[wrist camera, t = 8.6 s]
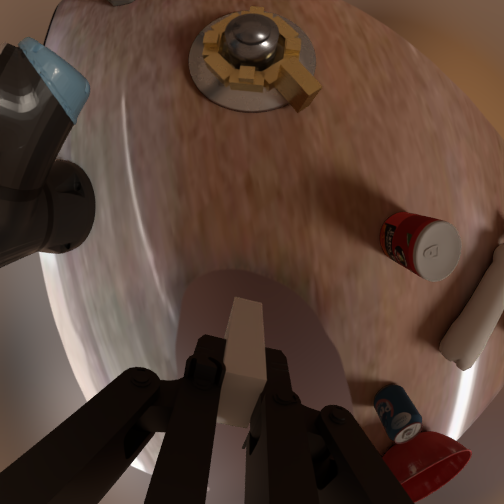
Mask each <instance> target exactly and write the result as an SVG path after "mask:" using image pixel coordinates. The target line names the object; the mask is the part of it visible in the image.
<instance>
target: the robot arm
mask: <svg viewBox="0 0 504 504" xmlns="http://www.w3.org/2000/svg"><path fill="white" fill-rule="evenodd" d="M89 94H90V85H89V82H88V81H87V79H86V78H85V77H84V76H83V75H82V74H81V73H79V72H78V71H77V70H76V69H75V68H74V67H72V66H71V65H70V64H69V63H67V62H66V61H65V60H64V59H62V58H61V57H60V56H58V55H57V54H56V53H54V52H53V51H51V50H50V49H48V48H47V47H44V45H42V44H40V43H39V42H38V41H36V40H35V39H33V38H30V37H26V38H24V39H23V40H22V41H20V42H19V44H18V47H15V46H13V45H10V44H8V43H6V42H5V43H3V44H1V45H0V268H1V267H3V266H5V265H8V264H10V263H12V262H14V261H17V260H19V259H21V258H24V257H26V256H28V255H31V254H33V253H35V252H46V253H54V254H61V253H66V252H68V251H71V250H73V249H75V248H77V247H79V246H80V245H81V244H82V243H83V242H84V241H85V240H86V238H87V237H88V235H89V233H90V231H91V228H92V225H93V222H94V217H95V196H94V191H93V187H92V184H91V182H90V180H89V178H88V176H87V174H86V173H85V172H84V170H83V169H82V168H81V167H79V166H78V165H76V164H75V163H72V162H69V161H55V159H56V157H57V155H58V153H59V151H60V149H61V147H62V145H63V143H64V141H65V140H66V138H67V136H68V134H69V132H70V130H71V129H72V127H73V125H75V124H76V122H77V117H78V115H79V113H80V111H81V110H82V108H83V106H84V104H85V103H86V101H87V99H88V97H89ZM288 371H289V370H288V366H287V359H286V356H285V355H284V354H283V353H282V351H281V350H276V349H271V348H266V347H265V343H264V328H263V313H262V303H259V302H255V301H250V300H246V299H242V298H238V297H235V299H234V303H233V306H232V310H231V314H230V318H229V322H228V326H227V329H226V334H225V337H224V339H222V338H218V337H214V336H210V335H206V334H205V335H203V336H202V337H201V338H199V339H198V342H197V345H196V348H195V351H194V354H193V355H192V356H190V357H189V358H188V359H187V361H186V367H185V373H184V377H183V378H180V379H178V380H172V381H166V380H160V379H159V377H158V376H157V374H156V373H154V372H153V371H151V370H149V369H146V368H142V367H133V368H129V369H127V370H125V371H124V372H123V373H121V374H120V375H119V376H118V377H117V378H116V379H114V380H113V381H112V382H111V383H110V384H108V385H107V386H106V387H105V388H104V389H102V390H101V391H100V392H99V393H98V394H96V395H95V396H94V397H93V398H91V399H90V400H89V401H88V402H87V403H85V404H84V405H83V406H82V407H81V408H80V409H78V410H77V411H76V412H75V413H73V414H72V415H71V416H70V417H69V418H67V419H66V420H65V421H64V422H62V423H61V424H60V425H59V426H58V427H56V428H55V429H54V430H53V431H51V432H50V433H49V434H48V435H47V436H45V437H44V438H43V439H42V440H41V441H39V442H38V443H37V444H36V445H34V446H33V447H32V448H31V449H29V450H28V451H27V452H26V453H24V454H23V455H22V456H21V457H20V458H18V459H17V460H16V461H15V462H13V463H12V464H11V465H10V466H8V467H7V468H6V469H5V470H3V471H2V472H1V473H0V504H98V503H99V502H100V500H101V499H102V498H103V497H104V496H105V494H106V493H107V492H108V491H109V490H110V489H111V487H112V486H113V485H114V484H115V483H116V481H117V480H118V479H119V478H120V477H121V475H122V474H123V473H124V472H125V470H126V469H127V468H128V467H129V466H130V464H131V463H132V462H133V461H134V459H135V458H136V457H137V456H138V454H139V453H140V452H141V451H142V449H143V448H144V447H145V446H146V444H147V443H148V442H149V441H150V439H151V438H152V437H153V436H154V434H155V432H166V433H165V436H164V439H163V442H162V445H161V449H160V452H159V455H158V458H157V461H156V465H155V468H154V471H153V474H152V478H151V481H150V484H149V488H148V491H147V495H146V498H145V501H144V504H205V500H206V493H207V484H208V478H209V470H210V463H211V455H212V448H213V441H214V435H215V427H216V422H217V423H221V424H226V425H232V426H237V427H243V428H247V427H248V425H249V423H250V431H249V433H248V435H247V437H246V440H245V442H244V444H243V447H242V449H245V447H246V475H245V504H414V502H413V501H412V499H411V498H410V497H409V495H408V494H407V492H406V491H405V490H404V488H403V487H402V485H401V484H400V482H399V481H398V480H397V478H396V477H395V475H394V474H393V473H392V471H391V470H390V468H389V467H388V465H387V464H386V463H385V461H384V460H383V458H382V457H381V456H380V454H379V453H378V451H377V450H376V448H375V447H374V446H373V444H372V443H371V441H370V440H369V438H368V437H367V436H366V434H365V433H364V431H363V430H362V428H361V427H360V425H359V424H358V423H357V421H356V420H355V418H354V417H353V415H352V414H351V413H350V412H349V411H348V410H346V409H345V408H343V407H341V406H337V405H328V406H325V407H324V408H323V409H322V410H321V411H317V410H314V409H311V408H309V407H306V406H304V405H302V404H301V401H300V399H299V397H298V395H297V394H295V393H294V392H293V391H292V387H291V381H290V376H289V372H288Z"/></svg>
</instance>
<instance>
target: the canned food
mask: <svg viewBox="0 0 504 504" xmlns="http://www.w3.org/2000/svg"><path fill="white" fill-rule="evenodd" d="M380 244H381V247H382V249H383V251H384V253H385V254H386V255H387V256H388V257H389V258H390V259H392V260H394V261H395V262H397V263H399V264H400V265H402V266H403V267H405V268H407V269H408V270H410V271H412V272H413V273H415V274H417V275H418V276H420V277H422V278H423V279H426V280H428V281H432V282H436V281H440V280H443V279H445V278H446V277H448V276H449V275H450V274H451V273H452V272H453V270H454V269H455V267H456V266H457V264H458V261H459V259H460V255H461V238H460V235H459V233H458V231H457V229H456V228H455V227H454V226H453V225H452V224H450V223H448V222H446V221H443V220H439V219H435V218H431V217H426V216H422V215H417V214H413V213H408V212H400V213H396V214H394V215H392V216H390V217H389V218H388V219H387V220H386V221H385V223H384V224H383V226H382V229H381V232H380Z"/></svg>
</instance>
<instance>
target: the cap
mask: <svg viewBox="0 0 504 504" xmlns="http://www.w3.org/2000/svg"><path fill="white" fill-rule="evenodd" d="M241 12H242V11H240V12H237V13H238V14H239V15H240V16H237V17H236V18H234V19H232V20H231V21H230V22H229V23H228V25H227V26H226V29H225V38H226V42H224V45H223V50H222V57H223V58H224V59H225V60H226V61H227V62H228V63H229V64H230V65H231V66H232V67H233V68H234V69H239V70H240V66H251V67H255V71H261V72H262V71H264V70H265V69H267V68H269V67H270V66H272V65H273V64H275V63H277V62H278V61H280V60H282V56H283V47H282V46H281V45H280V44H279V43H278V38H279V29H278V26H277V25H276V23H275V22H274V21H273V20H272V19H270V18H269V17H267V16H264V15H261V14H254V13H250V14H243V15H241ZM264 13H270V12H265V11H264ZM232 14H233V13H231V14H228V15H225V16H223V17H220V18H218V19H216V20H215V21H213V22H211V23H210V24H209V25H207V26H206V27H205V28H204V29H203V30H202V31H201V32H200V33H199V34H198V36H197V37H196V39H195V40H194V42H193V44H192V47H191V49H190V53H189V69H190V73H191V76H192V78H193V81H194V82H195V84H196V86H197V87H198V89H199V90H200V91H201V92H202V93H203V95H205V96H206V97H207V98H208V99H209V100H211V101H212V102H214V103H215V104H217V105H219V106H221V107H224V108H226V109H229V110H233V111H237V112H245V113H259V112H267V111H271V110H275V109H278V108H281V107H283V106H285V105H287V104H289V102H288V101H287V100H286V99H285V98H284V97H283V95H282V94H281V93H280V92H279V91H278V90H277V89H276V88H273V89H271V90H270V91H267V90H266V88H265V87H263V93H260V92H250V91H239V90H231V89H230V85H229V86H227V87H225V86H224V85H223V84H222V83H221V82H220V81H219V80H218V79H217V78H216V77H215V76H214V75H213V74H212V73H211V72H210V70H209V69H208V68H207V67H206V64H205V62H204V58H203V56H202V54H203V49H204V45H203V39H204V35H205V32H207V31H208V30H212V29H211V26H213V25H214V24H216V23H218V22H219V21H221V20H223V19H224V18H226V17H228V16H230V15H232ZM276 16H279V17H280V18H282V19H283V20H284V21H285V22H286V23H287V24H288V25H290V26H291V27H292V28H293V29H294V30H295V31H296V32H297V33H298V34H299V36H298V38H301V50H300V55H299V62H300V63H301V64H302V65H303V66H304V67H305V68H306V69H307V70H308V71H309V72H310V73H311V74H312V76H313V75H314V71H315V66H316V56H315V51H314V48H313V45H312V43H311V41H310V40H309V38H308V36H307V35H306V34H305V33H304V31H303V30H302V29H301V28H300V27H298V26H297V25H296V24H294V23H293V22H292V21H290V20H288V19H286V18H284V17H282V16H280V15H277V14H274V13H273V18H274V17H276Z"/></svg>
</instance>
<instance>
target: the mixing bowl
mask: <svg viewBox="0 0 504 504" xmlns="http://www.w3.org/2000/svg"><path fill="white" fill-rule="evenodd" d="M471 455H472V451H471V450H469V449H466V448H465V447H464V446H463V445H461V444H460V443H458V442H457V441H455V440H454V439H452V438H450V437H448V436H445V435H443V434H440V433H437V432H432V431H428V432H421V433H419V434H418V435H417V436H416V437H415V438H413V439H412V440H410V441H408V442H406V443H403V444H397V443H396V444H395V445H393V446H392V447H391V448H390V449H389V450H388V451H387V452H386V454H385V455H384V456H383V457H382V458H383V460H384V461H385V463H386V464H387V465H388V467H389V468H390V470H391V471H392V473H393V474H394V475H395V477H396V478H397V480H398V481H399V482H400V484H401V485H402V487H403V488H404V490H405V491H406V492H407V494H408V495H409V497H410V498H411V499H412V501H413V502H414V503H415V502H417V501H419V500H421V499H423V498H425V497H426V496H428V495H430V494H431V493H433V492H434V491H436V490H438V489H439V488H440V487H442V486H443V485H445V484H446V483H447V482H449V481H450V480H451V479H452V478H454V477H455V476H456V475H457V474H458V473H459V472H460V471H461V470H462V469H463V468H464V466H465V465H466V464H467V462H468V461H469V460H470V458H471Z"/></svg>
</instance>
